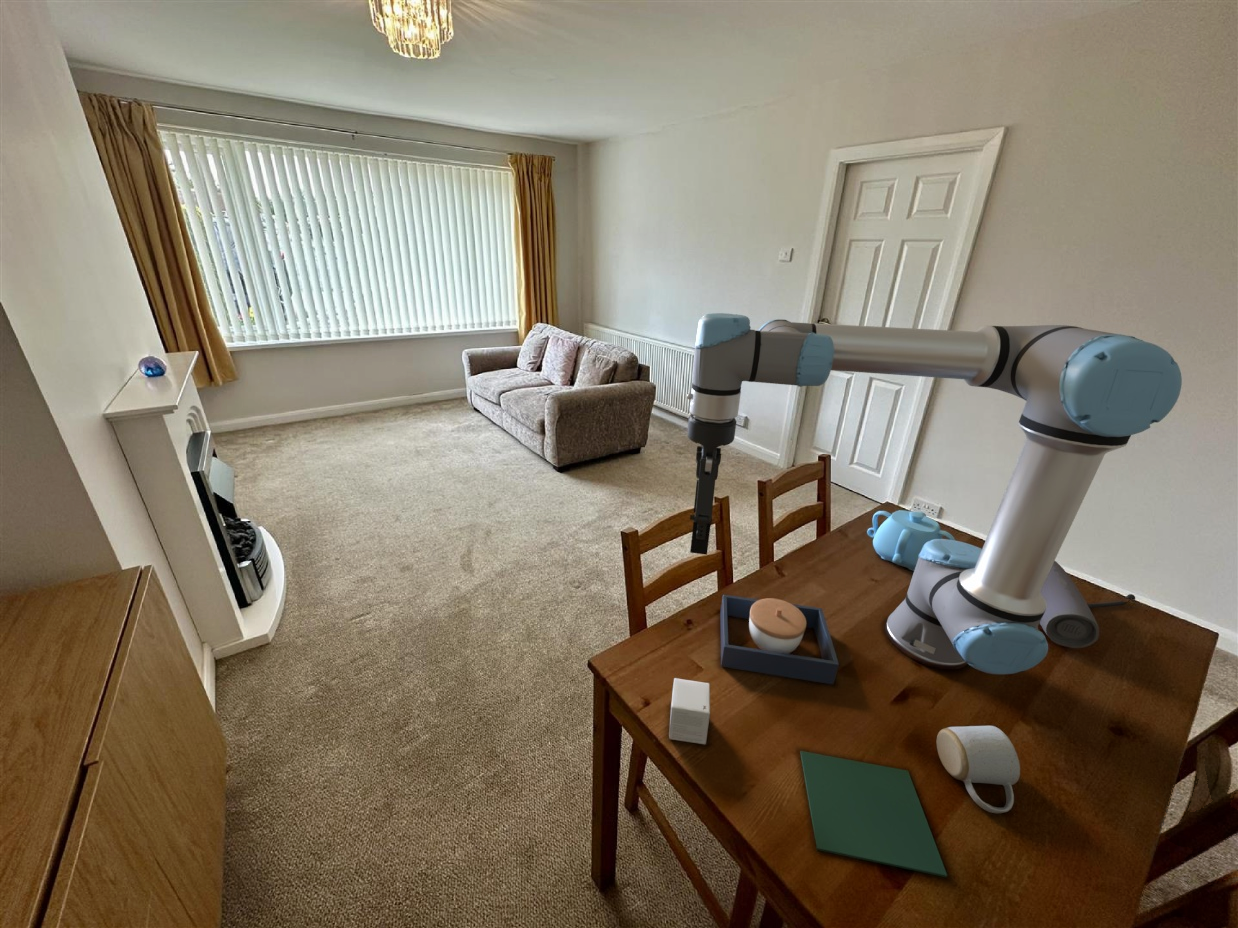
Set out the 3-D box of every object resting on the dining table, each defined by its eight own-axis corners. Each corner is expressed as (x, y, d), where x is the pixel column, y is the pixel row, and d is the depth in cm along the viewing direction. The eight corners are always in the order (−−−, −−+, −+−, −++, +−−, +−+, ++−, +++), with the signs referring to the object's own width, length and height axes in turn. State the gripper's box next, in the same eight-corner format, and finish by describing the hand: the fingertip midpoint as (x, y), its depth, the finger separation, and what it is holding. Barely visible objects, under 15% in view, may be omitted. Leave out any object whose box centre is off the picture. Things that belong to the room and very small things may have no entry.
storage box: (817, 626, 103) (821, 608, 101) (833, 684, 89) (839, 664, 87) (720, 612, 107) (722, 594, 105) (721, 666, 92) (724, 646, 90)
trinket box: (803, 670, 92) (812, 632, 88) (746, 660, 94) (752, 623, 90) (795, 631, 102) (803, 595, 98) (744, 623, 104) (750, 587, 100)
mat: (907, 772, 74) (908, 770, 74) (946, 877, 62) (947, 875, 62) (800, 752, 77) (800, 750, 77) (816, 849, 64) (817, 847, 64)
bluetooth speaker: (1007, 583, 120) (1022, 549, 116) (1054, 594, 116) (1071, 560, 112) (1033, 643, 101) (1052, 605, 97) (1090, 659, 97) (1112, 620, 93)
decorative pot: (920, 544, 135) (934, 501, 130) (951, 578, 120) (968, 532, 115) (860, 539, 136) (872, 497, 131) (883, 573, 122) (897, 527, 116)
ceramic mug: (927, 746, 78) (941, 713, 75) (976, 747, 78) (993, 715, 75) (970, 816, 69) (988, 782, 66) (1026, 817, 69) (1048, 784, 66)
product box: (706, 713, 83) (710, 682, 80) (706, 746, 77) (710, 714, 74) (670, 707, 84) (673, 676, 81) (668, 739, 78) (671, 707, 75)
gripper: (692, 393, 88) (682, 496, 96) (684, 441, 65) (672, 569, 74) (734, 397, 87) (720, 500, 95) (740, 446, 64) (722, 576, 73)
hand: (699, 531), depth 85 cm, fingers open, 13 cm apart
